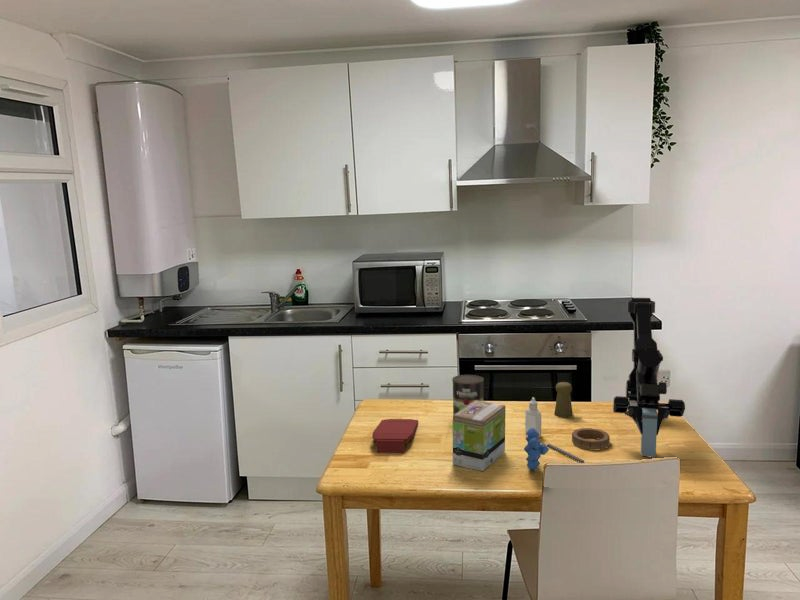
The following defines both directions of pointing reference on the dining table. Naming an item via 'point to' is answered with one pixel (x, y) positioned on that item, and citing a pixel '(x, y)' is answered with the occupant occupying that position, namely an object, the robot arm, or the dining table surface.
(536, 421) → the eye dropper bottle
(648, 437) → the blue-gray square peg
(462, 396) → the coffee can
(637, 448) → the dining table surface
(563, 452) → the thin gray square rod
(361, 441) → the dining table surface
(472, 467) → the tea box
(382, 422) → the red lunch box
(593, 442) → the bead ring
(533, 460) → the grapes
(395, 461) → the dining table surface
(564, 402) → the cork
